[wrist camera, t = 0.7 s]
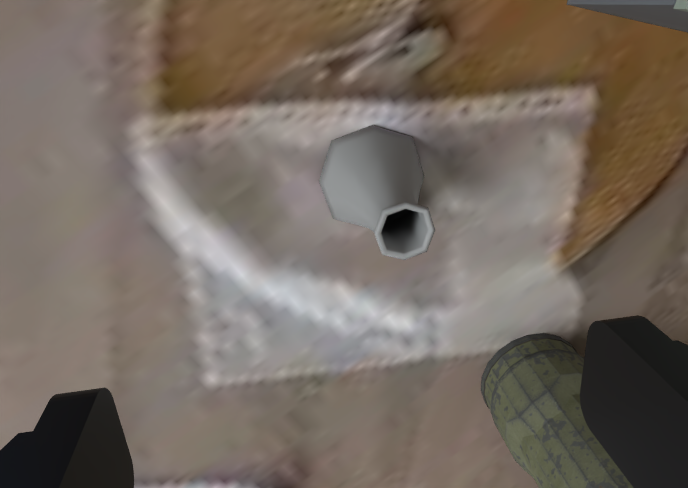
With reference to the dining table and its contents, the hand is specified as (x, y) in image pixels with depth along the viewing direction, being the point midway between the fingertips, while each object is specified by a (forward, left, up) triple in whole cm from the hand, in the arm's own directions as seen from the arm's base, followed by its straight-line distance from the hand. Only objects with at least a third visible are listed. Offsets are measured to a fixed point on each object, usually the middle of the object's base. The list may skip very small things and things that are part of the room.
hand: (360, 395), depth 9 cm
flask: (+4, +6, -29) cm, 30 cm away
